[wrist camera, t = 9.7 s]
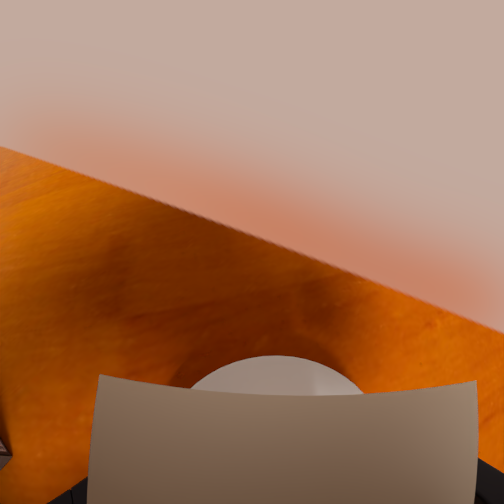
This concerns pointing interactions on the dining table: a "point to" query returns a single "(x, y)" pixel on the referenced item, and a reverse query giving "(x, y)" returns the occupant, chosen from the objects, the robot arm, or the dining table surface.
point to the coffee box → (4, 455)
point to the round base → (277, 378)
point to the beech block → (282, 446)
